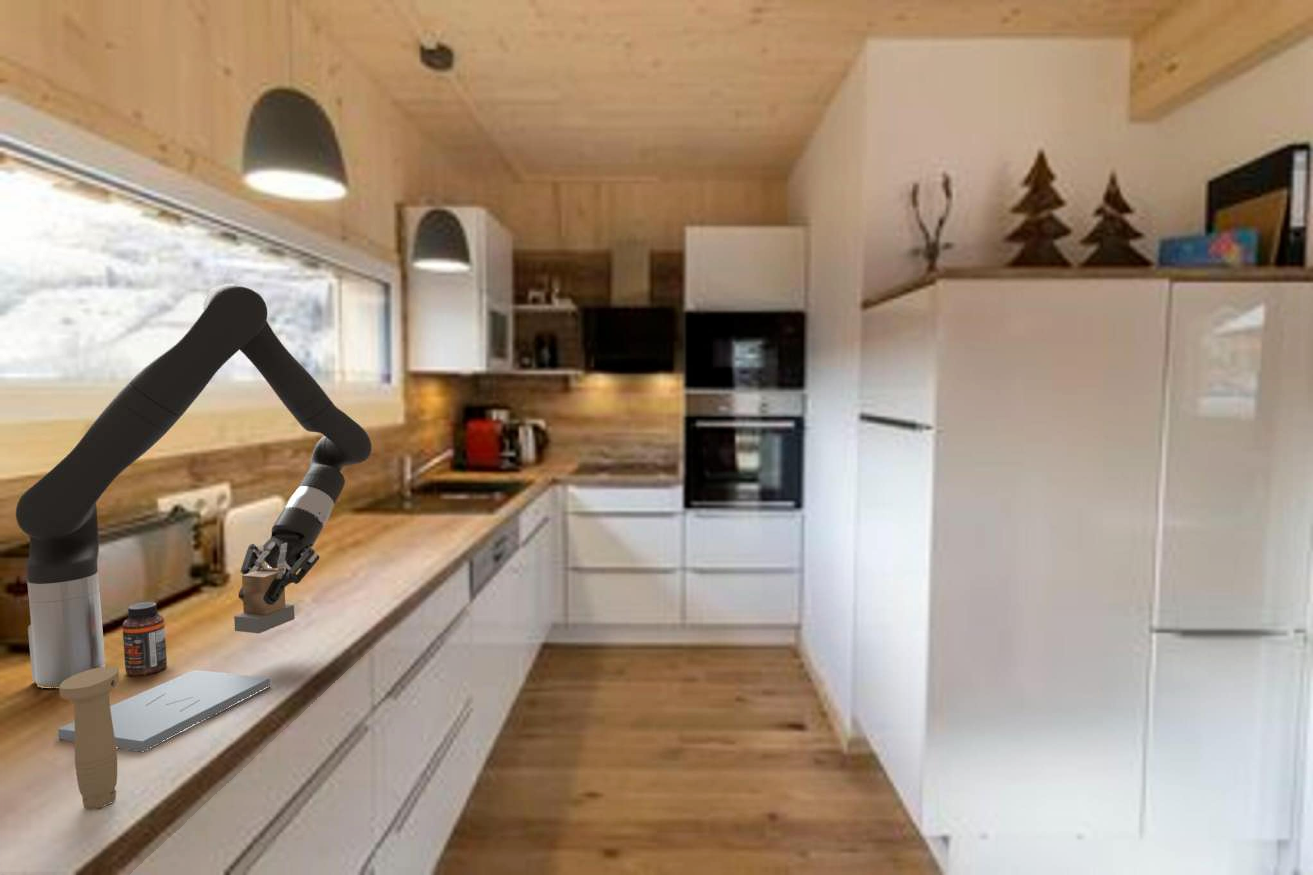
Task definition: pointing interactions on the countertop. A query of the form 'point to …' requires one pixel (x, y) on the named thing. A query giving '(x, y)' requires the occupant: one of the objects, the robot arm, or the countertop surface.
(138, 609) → the supplement bottle
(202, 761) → the countertop surface
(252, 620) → the block
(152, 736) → the board
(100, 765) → the handle
